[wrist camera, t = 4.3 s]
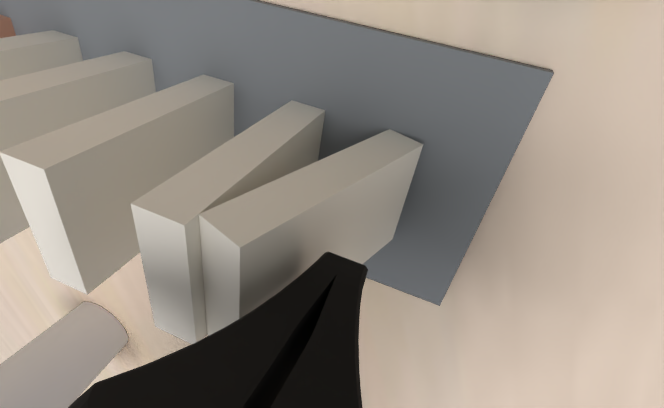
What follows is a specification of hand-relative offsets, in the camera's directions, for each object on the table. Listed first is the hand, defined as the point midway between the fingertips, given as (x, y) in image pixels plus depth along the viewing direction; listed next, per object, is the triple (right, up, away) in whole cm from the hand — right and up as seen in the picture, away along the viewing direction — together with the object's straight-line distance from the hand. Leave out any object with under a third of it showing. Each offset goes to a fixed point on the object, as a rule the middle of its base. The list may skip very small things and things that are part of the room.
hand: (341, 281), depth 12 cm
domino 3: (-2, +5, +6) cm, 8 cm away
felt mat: (-8, +7, +8) cm, 13 cm away
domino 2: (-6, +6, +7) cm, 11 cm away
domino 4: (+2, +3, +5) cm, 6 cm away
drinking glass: (-22, -9, +25) cm, 35 cm away
